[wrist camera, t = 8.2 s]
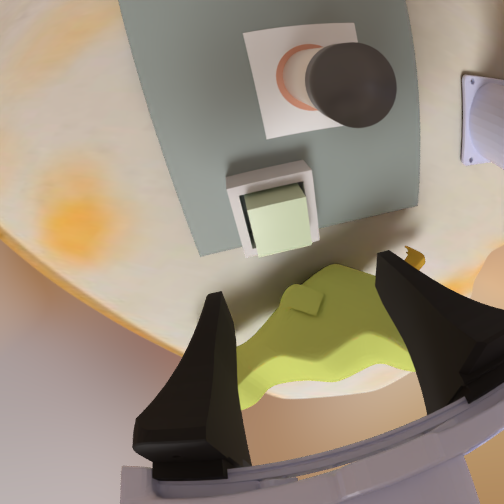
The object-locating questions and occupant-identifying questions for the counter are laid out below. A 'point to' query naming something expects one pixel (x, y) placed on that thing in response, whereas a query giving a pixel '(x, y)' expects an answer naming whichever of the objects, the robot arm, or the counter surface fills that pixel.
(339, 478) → the robot arm
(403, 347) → the toy
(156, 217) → the counter surface
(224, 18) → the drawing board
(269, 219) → the button
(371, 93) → the jar with dark lid
